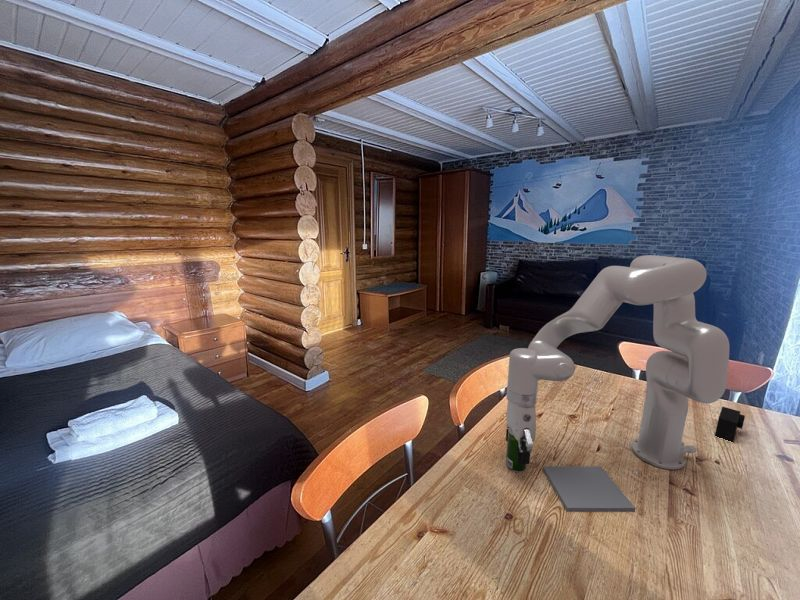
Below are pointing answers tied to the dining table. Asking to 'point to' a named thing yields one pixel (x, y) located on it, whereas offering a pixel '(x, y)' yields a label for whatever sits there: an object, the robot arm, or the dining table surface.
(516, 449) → the beer can
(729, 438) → the digital camera
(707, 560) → the dining table surface
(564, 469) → the mat
